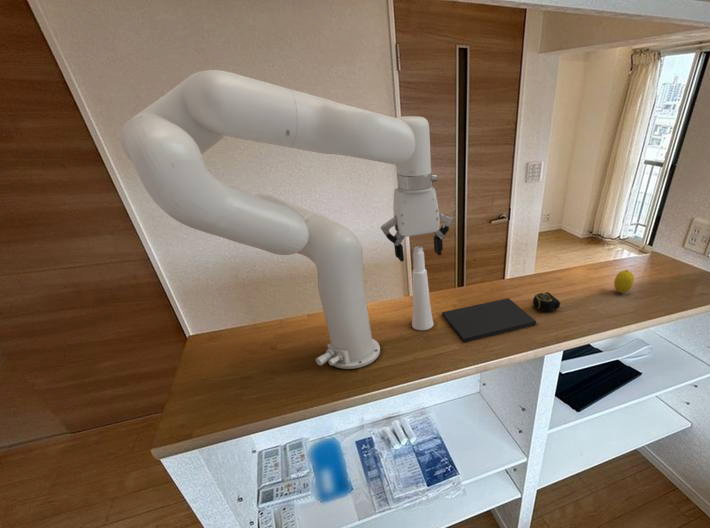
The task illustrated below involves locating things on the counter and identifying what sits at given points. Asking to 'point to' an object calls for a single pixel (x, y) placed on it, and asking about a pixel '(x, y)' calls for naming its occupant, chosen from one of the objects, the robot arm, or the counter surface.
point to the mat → (487, 319)
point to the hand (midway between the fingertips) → (419, 256)
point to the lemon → (624, 281)
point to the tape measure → (545, 302)
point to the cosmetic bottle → (420, 293)
